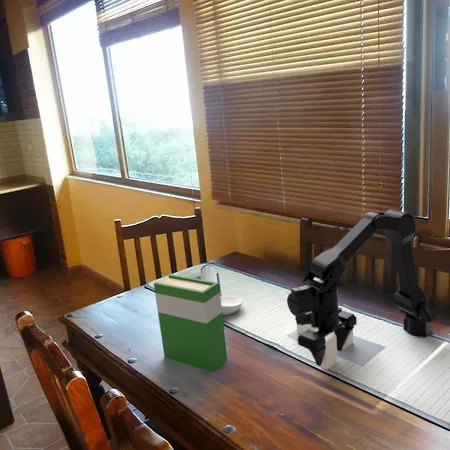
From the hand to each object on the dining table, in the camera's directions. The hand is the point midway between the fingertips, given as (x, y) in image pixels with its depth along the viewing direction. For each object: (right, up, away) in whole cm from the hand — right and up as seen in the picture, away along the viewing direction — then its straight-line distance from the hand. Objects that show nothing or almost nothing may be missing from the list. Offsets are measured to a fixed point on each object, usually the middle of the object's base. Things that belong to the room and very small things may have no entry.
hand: (329, 357), depth 125 cm
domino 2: (0, +2, +16) cm, 16 cm away
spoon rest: (-31, +3, +37) cm, 48 cm away
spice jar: (+4, +6, +33) cm, 34 cm away
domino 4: (+7, +1, +9) cm, 11 cm away
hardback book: (-37, -4, +12) cm, 39 cm away
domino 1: (-3, +3, +20) cm, 20 cm away
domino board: (+4, +1, +12) cm, 13 cm away
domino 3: (0, -3, +1) cm, 3 cm away
